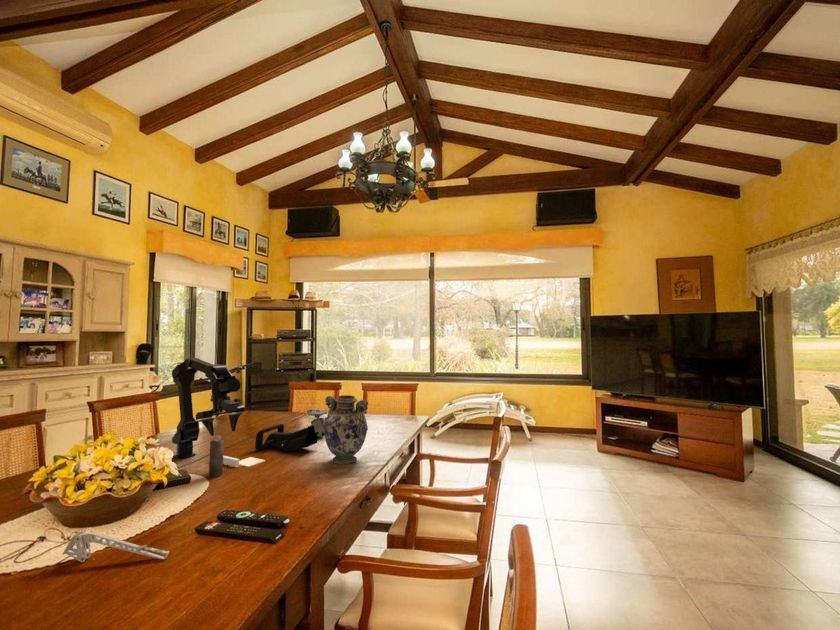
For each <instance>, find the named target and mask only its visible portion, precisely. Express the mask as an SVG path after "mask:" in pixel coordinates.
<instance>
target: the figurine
mask: <svg viewBox="0 0 840 630" xmlns="http://www.w3.org/2000/svg"><path fill="white" fill-rule="evenodd" d="M306 412H307V416H308V417H314V419H312V420H311V421H310V425H308V424H306V427H310V426H314V429H315V432H316V433H317V437H318V438H319V439H320V438H321V439H322V438H323V435H322V434H324V423H325V420H326V418H327V416H325V415H328V410H327V409H326V408H319V407H317V408H308V409H307V411H306ZM321 416H322V417H321ZM323 416H324V417H323ZM306 427H305V426H303V427H302V429H304V428H306Z"/></svg>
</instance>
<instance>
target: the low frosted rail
mask: <svg viewBox="0 0 840 630" xmlns="http://www.w3.org/2000/svg"><path fill="white" fill-rule="evenodd" d="M239 461H240V458H236V457H232V456H227V455H223V464H224V465H223V466H227V465H228V466H227V467H231V468H239V467H240V465H239Z"/></svg>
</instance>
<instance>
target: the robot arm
mask: <svg viewBox="0 0 840 630" xmlns="http://www.w3.org/2000/svg"><path fill="white" fill-rule="evenodd" d="M198 371H199V372H201V373H203V374H205V375H204V376H205V377H206V378H207V379H209V380H210V381H209V383H208V385H207V386H208V387H211V398H210V402H212V409H210V410H204V411H198V412H196V414H195V418H194V410H193V399H192V397H193V396H192V385H193V384H192V383H193V381H194V379H195V374H196V373H198ZM171 377H172V382H173V383H174V385H176V387H177V391H178V393H177V394H178V403H179V415H180V416H179V417H180V418H179V419H180V420H179V422H178V423H177V426H176V432H175V434H174V435H173V436H172V437H171V442H172V444H173V445H176V451H175V452H176V453H175V454H173V455H174V457H173V458H177V459H182V460H183V459H187V458H190V457H193V456H196V455H197V454H196V453H194V450H193V449H194V442H195V441H196V442H197V441H198V439H199V435H200V433H201V432H200V430H201V429H200V422H201V423H202V425H204V427H205V428H206V429H207V431H208V433H209V434H210V436H211V437H213V436H214V435H215V430H214V420H215V417H214V416H220V415H224V414H225V415H227V414H228V418H229V422H230V429H231V432H235V431H236V427H237V423H238V420H239V418H240V416H242V415H244V414H243V413H244V412H246V407H245V406H244V404H242V400H241V398H239V397H238V398H237V397H236V398H234V399H233V400H231V396H229V395H228V394H231V393H232V394H233V393H235V392H236V393H237V392H238V391H239V390H240V389H241V385H242V383H241V381H240V380H239V379H238V378H236V375H235V374H234V375H233V374H232V372H231V371H230V369H229V368H228V366H227V365H226V364H213V363H210V362H207V361H205V360H202V359H200V358H198V357H188V358H186V359H185V360H184V361H183V362H181V363H179V364H177V365H176V366H175V367H174V368H173V370H172V371H171ZM214 437H215V436H214Z"/></svg>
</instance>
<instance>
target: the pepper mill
mask: <svg viewBox="0 0 840 630" xmlns="http://www.w3.org/2000/svg"><path fill="white" fill-rule="evenodd" d="M224 451H225V440H224V439H222V436H221V435H218V434H217V435H215V436H214V437H213V440H210V441H209V464H208V477H209V478H219V477H221V475H222V476H223V474H224V473H223V472H224V471H223V470H224V465H223V456H225V453H224Z"/></svg>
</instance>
